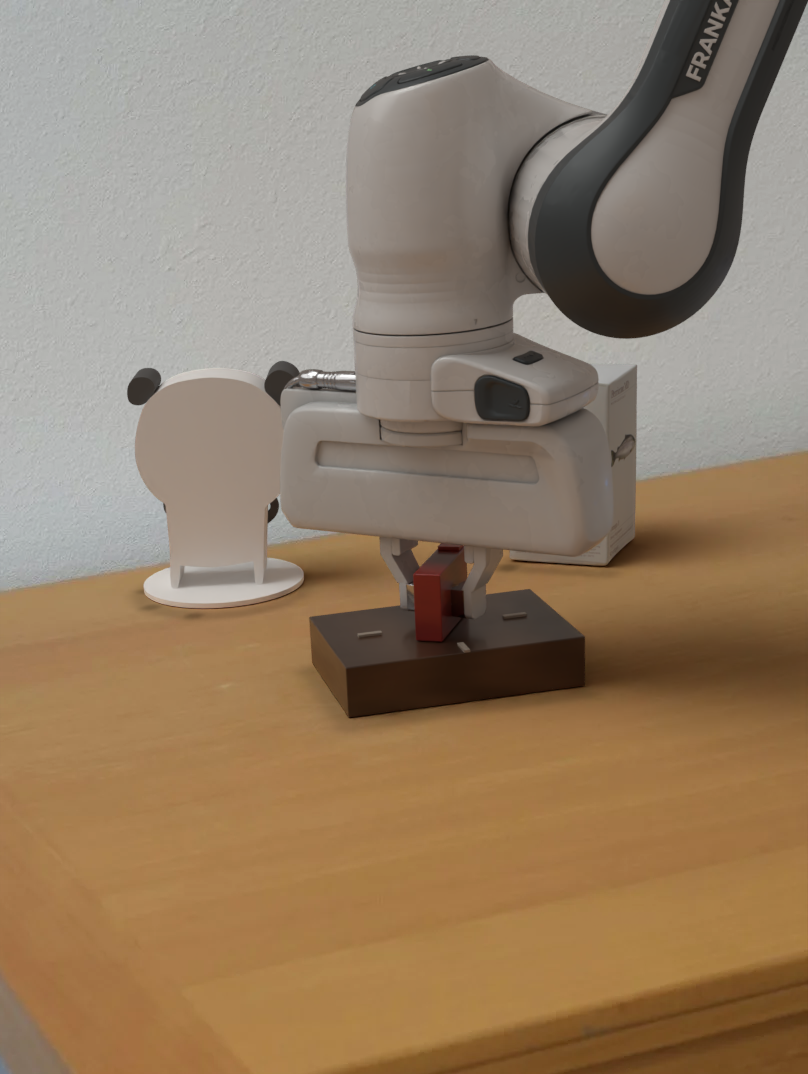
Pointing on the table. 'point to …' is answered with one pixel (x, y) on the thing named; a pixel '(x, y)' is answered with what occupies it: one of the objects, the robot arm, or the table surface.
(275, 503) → the panda figurine
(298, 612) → the table surface
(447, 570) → the red rectangular block
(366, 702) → the stamp base
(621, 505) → the white packaging box
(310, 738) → the table surface
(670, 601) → the table surface
